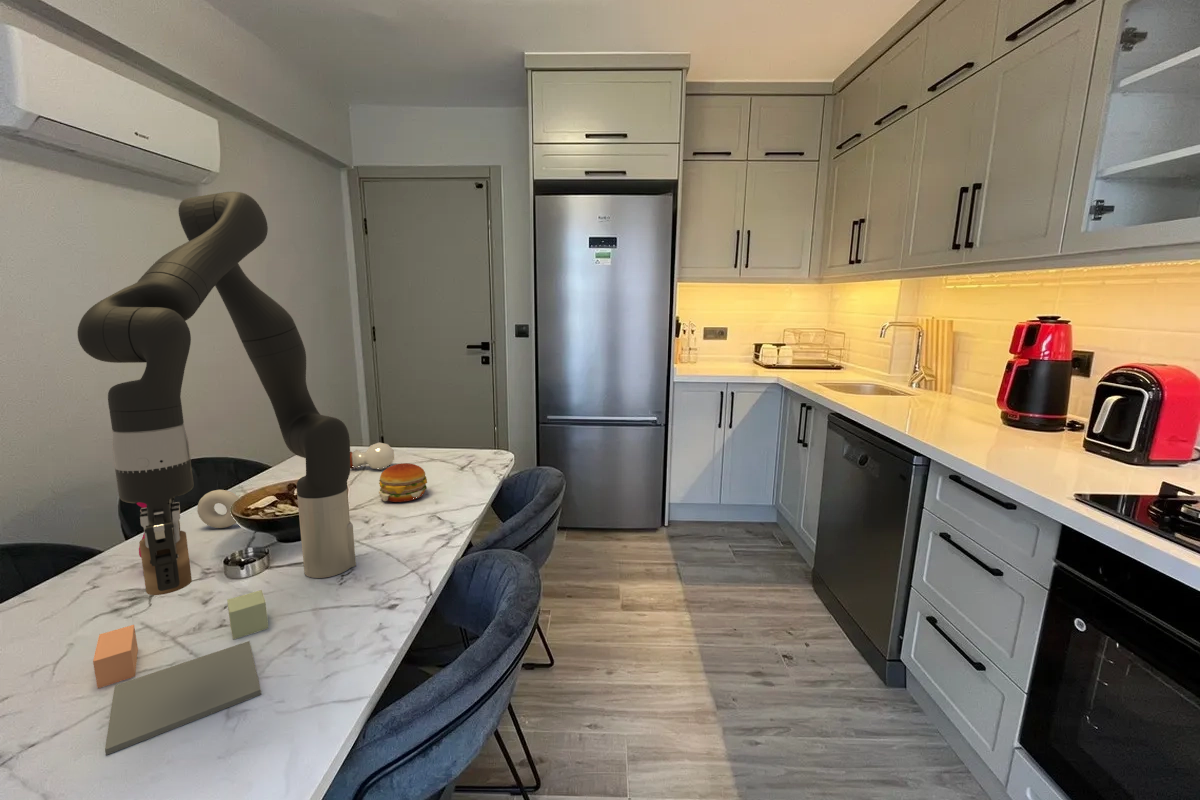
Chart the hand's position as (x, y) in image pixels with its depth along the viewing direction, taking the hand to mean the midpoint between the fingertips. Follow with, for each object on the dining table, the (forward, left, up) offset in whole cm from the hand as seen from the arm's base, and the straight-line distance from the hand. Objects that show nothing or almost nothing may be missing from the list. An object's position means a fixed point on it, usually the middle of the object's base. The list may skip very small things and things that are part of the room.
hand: (169, 579), depth 69 cm
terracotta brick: (+8, -13, -18) cm, 23 cm away
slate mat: (0, 0, -17) cm, 17 cm away
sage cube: (-9, -13, -18) cm, 23 cm away
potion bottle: (-52, -94, -18) cm, 109 cm away
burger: (-51, -60, -18) cm, 81 cm away
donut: (-8, -66, -18) cm, 69 cm away
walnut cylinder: (0, 0, -1) cm, 1 cm away
